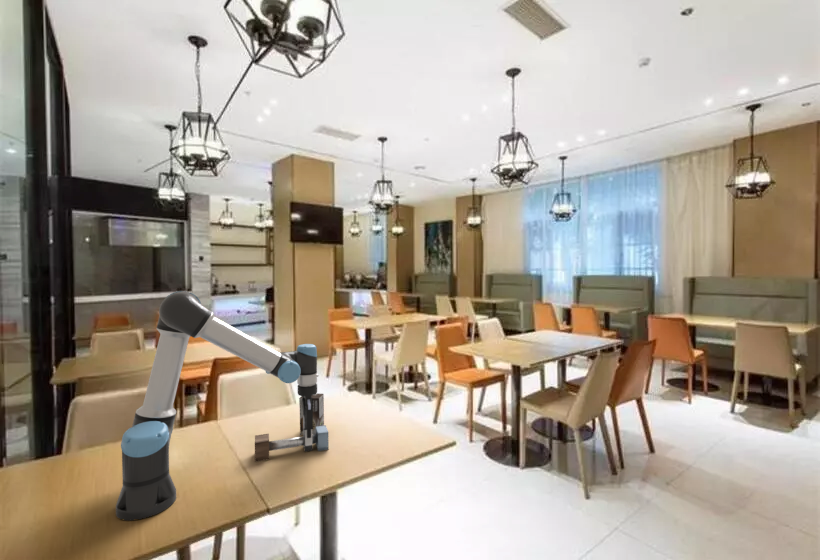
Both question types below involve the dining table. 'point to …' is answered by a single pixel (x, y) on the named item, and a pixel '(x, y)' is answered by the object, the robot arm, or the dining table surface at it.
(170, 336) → the robot arm
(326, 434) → the socket
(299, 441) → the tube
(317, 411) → the coffee box
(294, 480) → the dining table surface
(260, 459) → the sleeve
